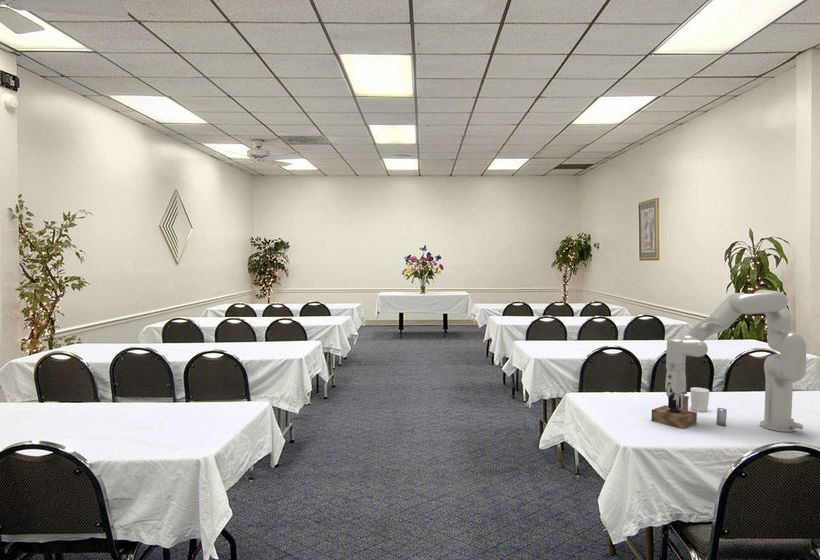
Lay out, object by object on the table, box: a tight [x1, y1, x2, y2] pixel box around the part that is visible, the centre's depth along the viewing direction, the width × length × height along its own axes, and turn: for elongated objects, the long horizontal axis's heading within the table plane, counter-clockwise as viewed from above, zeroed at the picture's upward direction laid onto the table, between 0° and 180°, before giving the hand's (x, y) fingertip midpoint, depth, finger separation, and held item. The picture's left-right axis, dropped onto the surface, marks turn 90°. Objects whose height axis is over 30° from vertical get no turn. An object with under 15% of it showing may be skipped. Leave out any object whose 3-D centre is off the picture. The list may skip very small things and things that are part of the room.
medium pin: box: [679, 394, 683, 409], centre depth 237 cm, size 4×4×10 cm
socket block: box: [650, 404, 698, 430], centre depth 229 cm, size 14×12×5 cm
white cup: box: [690, 387, 710, 413], centre depth 248 cm, size 8×8×10 cm
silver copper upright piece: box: [681, 391, 690, 411], centre depth 246 cm, size 8×3×10 cm, turn 62°
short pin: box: [716, 407, 728, 427], centre depth 226 cm, size 4×4×7 cm
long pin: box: [670, 391, 679, 413], centre depth 228 cm, size 4×4×14 cm
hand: (674, 407), depth 228 cm, fingers closed on long pin, 3 cm apart
